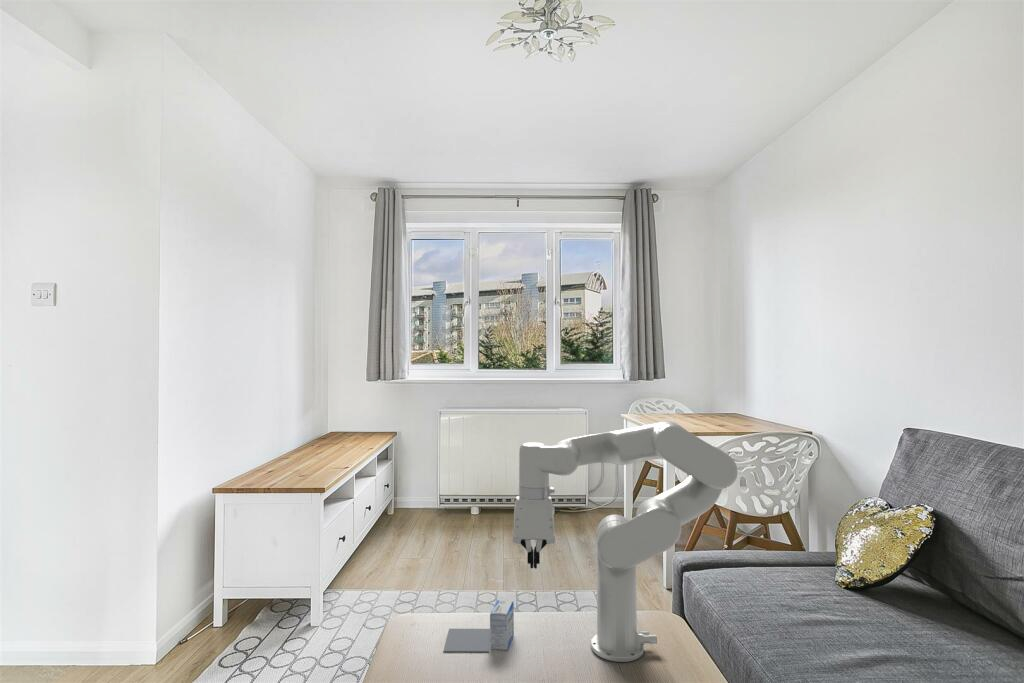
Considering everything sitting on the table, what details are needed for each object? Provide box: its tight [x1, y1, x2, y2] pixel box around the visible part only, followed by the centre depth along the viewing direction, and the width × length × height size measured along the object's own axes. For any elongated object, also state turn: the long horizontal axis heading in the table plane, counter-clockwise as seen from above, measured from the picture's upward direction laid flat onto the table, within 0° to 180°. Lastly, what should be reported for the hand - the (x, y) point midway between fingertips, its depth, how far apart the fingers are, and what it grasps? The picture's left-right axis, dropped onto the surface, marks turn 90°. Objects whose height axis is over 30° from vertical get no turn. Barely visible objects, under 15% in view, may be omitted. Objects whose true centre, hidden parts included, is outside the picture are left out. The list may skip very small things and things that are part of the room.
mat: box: [442, 628, 491, 653], centre depth 133 cm, size 11×11×1 cm
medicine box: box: [489, 599, 515, 651], centre depth 133 cm, size 8×4×9 cm, turn 168°
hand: (533, 566), depth 133 cm, fingers closed
